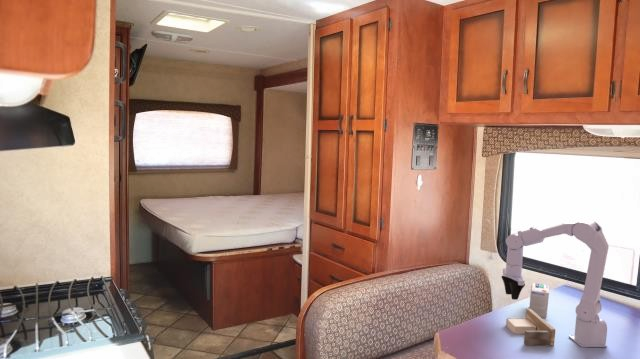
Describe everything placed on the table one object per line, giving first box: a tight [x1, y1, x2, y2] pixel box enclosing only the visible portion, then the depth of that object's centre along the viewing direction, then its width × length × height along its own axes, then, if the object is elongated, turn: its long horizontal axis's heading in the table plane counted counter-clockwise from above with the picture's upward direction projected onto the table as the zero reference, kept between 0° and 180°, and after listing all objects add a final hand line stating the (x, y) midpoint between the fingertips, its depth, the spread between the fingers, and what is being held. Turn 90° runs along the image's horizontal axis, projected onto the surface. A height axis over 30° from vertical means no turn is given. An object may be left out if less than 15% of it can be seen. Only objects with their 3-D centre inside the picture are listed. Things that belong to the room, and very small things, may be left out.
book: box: [505, 317, 536, 335], centre depth 174 cm, size 8×7×3 cm
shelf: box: [523, 308, 556, 347], centre depth 170 cm, size 10×18×6 cm, turn 2°
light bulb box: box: [528, 282, 550, 319], centre depth 190 cm, size 11×7×11 cm, turn 154°
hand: (511, 296), depth 182 cm, fingers open, 5 cm apart
